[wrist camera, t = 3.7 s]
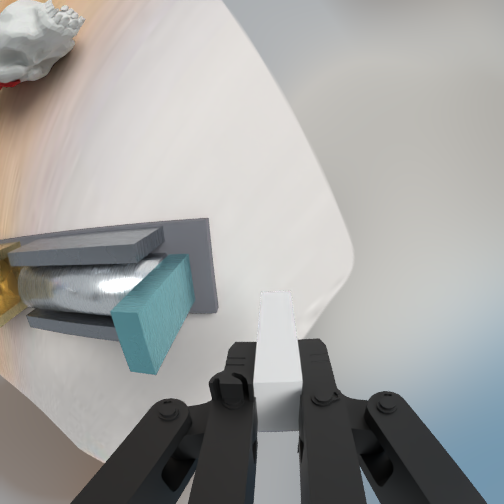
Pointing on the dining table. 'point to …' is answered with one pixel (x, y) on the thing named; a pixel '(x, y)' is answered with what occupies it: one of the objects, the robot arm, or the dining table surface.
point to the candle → (34, 39)
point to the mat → (176, 242)
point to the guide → (72, 253)
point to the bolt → (120, 300)
